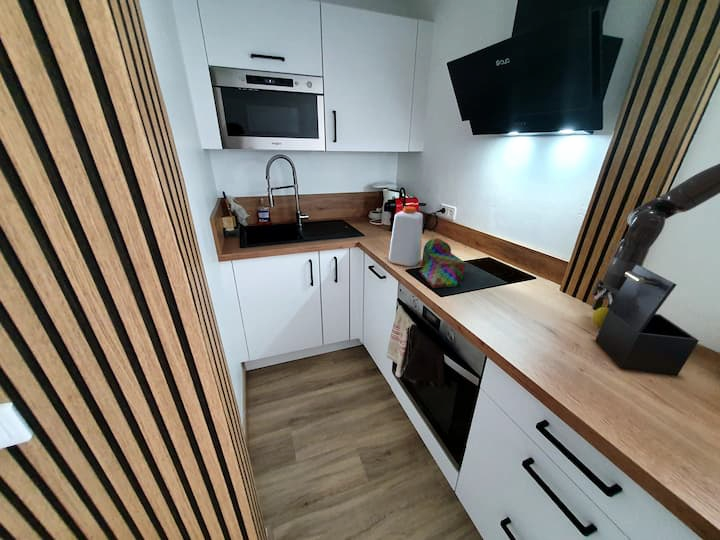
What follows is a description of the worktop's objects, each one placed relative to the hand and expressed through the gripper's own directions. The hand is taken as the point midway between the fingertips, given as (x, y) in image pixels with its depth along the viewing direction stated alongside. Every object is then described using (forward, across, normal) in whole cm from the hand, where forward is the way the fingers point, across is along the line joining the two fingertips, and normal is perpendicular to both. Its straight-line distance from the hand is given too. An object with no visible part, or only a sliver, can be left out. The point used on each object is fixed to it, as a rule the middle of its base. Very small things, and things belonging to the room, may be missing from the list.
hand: (603, 316), depth 95 cm
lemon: (+5, 0, 0) cm, 5 cm away
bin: (+4, -15, -1) cm, 16 cm away
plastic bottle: (+5, +48, +67) cm, 82 cm away
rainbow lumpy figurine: (+5, +33, +51) cm, 61 cm away
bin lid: (-15, -15, +4) cm, 21 cm away
